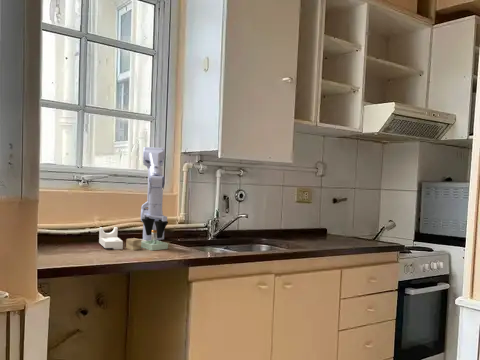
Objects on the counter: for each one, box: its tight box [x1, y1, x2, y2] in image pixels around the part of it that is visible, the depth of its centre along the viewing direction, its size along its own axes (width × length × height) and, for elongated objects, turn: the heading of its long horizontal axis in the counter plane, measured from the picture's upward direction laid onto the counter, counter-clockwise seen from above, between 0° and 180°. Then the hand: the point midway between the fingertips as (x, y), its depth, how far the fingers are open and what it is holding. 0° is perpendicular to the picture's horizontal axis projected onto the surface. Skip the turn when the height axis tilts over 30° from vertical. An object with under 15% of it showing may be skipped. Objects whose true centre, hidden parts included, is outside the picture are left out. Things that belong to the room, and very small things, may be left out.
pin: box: [151, 230, 157, 244], centre depth 194 cm, size 2×2×7 cm
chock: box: [125, 237, 142, 251], centre depth 190 cm, size 4×5×4 cm
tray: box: [141, 240, 169, 251], centre depth 194 cm, size 8×9×2 cm
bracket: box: [98, 226, 124, 250], centre depth 193 cm, size 13×7×8 cm, turn 27°
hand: (154, 236), depth 194 cm, fingers open, 7 cm apart
